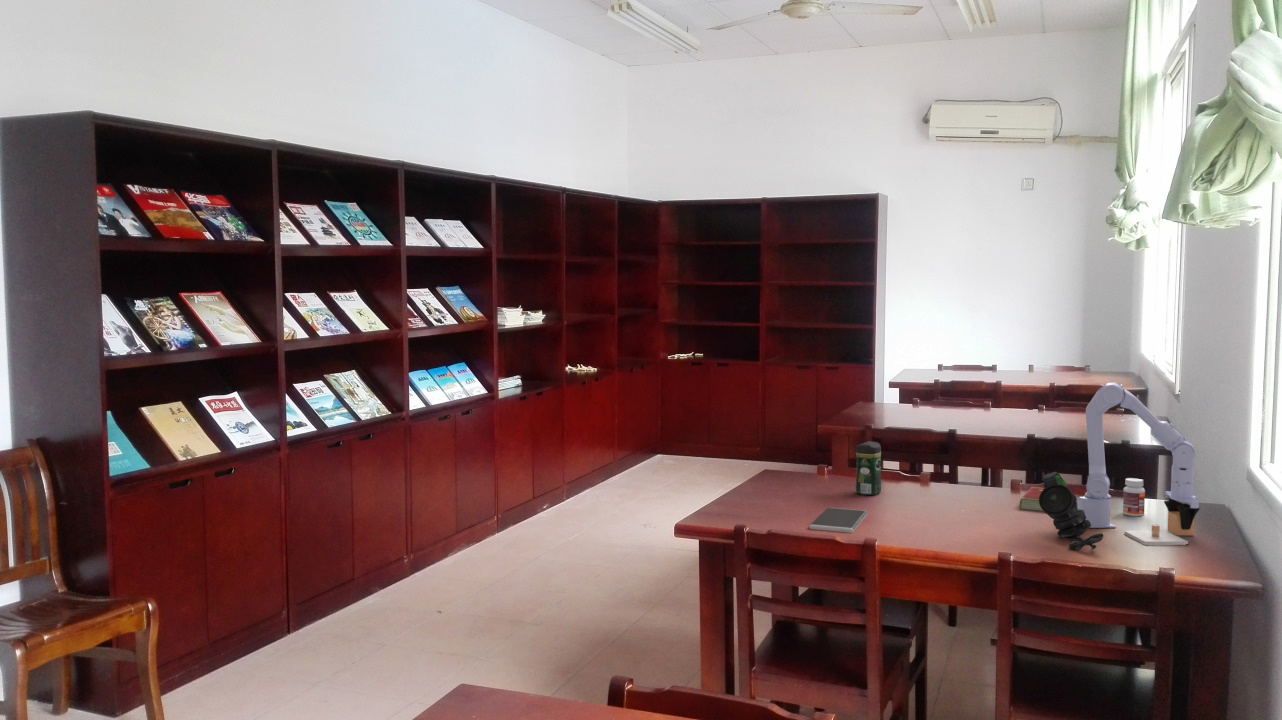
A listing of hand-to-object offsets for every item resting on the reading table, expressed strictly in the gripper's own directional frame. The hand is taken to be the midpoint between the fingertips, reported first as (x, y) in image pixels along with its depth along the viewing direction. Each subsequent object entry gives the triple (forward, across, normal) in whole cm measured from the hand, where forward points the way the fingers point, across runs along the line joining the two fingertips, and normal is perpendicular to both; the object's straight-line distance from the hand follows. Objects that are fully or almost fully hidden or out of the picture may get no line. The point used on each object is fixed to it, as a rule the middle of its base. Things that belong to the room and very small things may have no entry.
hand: (1180, 526), depth 281 cm
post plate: (+2, -7, +11) cm, 13 cm away
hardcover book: (+3, +39, +25) cm, 46 cm away
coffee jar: (+2, +57, +80) cm, 98 cm away
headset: (+2, -6, +34) cm, 35 cm away
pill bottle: (+2, +24, +2) cm, 24 cm away
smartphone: (+3, +16, +98) cm, 99 cm away
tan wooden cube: (+2, 0, 0) cm, 2 cm away
